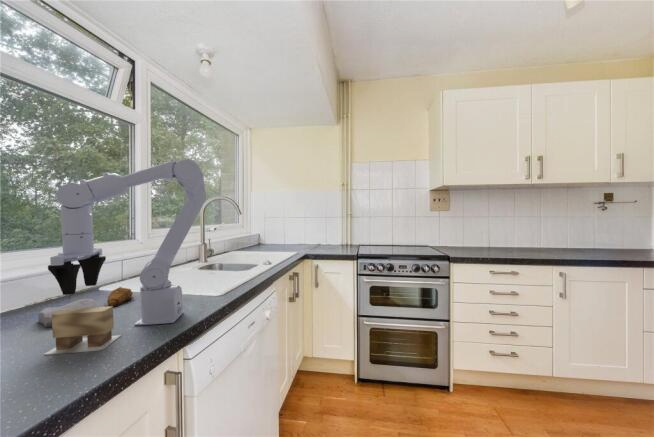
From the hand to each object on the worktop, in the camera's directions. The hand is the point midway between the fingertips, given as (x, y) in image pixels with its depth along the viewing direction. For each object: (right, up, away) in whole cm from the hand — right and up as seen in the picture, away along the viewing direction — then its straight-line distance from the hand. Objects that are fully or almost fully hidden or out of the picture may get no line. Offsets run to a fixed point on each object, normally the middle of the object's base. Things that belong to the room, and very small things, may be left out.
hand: (80, 289), depth 70 cm
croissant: (-8, -10, +24) cm, 28 cm away
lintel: (+7, -8, -7) cm, 12 cm away
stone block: (-11, -11, +10) cm, 18 cm away
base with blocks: (+7, -11, -7) cm, 14 cm away
